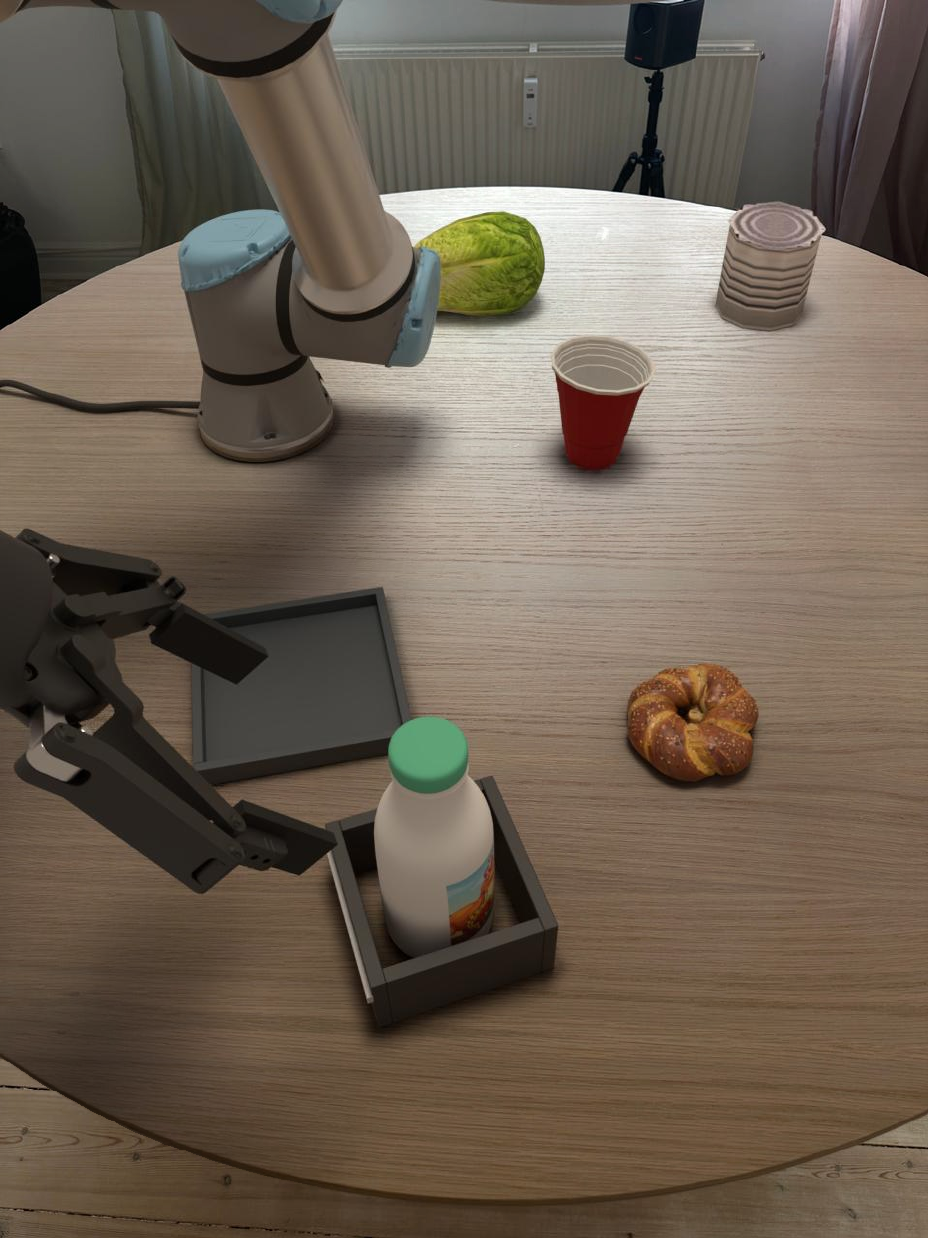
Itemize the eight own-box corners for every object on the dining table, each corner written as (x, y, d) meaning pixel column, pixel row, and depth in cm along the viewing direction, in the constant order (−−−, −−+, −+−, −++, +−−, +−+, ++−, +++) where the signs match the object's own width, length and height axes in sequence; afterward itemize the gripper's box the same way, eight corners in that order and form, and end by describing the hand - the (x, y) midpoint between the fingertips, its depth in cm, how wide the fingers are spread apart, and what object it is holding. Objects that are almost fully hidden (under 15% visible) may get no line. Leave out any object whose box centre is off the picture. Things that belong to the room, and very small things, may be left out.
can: (813, 302, 132) (836, 213, 123) (784, 339, 125) (806, 248, 117) (733, 282, 136) (749, 194, 128) (701, 317, 130) (716, 227, 121)
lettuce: (373, 239, 134) (364, 222, 121) (532, 212, 134) (540, 192, 120) (390, 336, 137) (382, 330, 124) (546, 310, 137) (555, 301, 123)
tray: (195, 631, 90) (190, 615, 89) (384, 602, 93) (382, 586, 91) (198, 787, 78) (192, 771, 77) (416, 749, 81) (414, 733, 79)
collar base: (329, 869, 73) (319, 824, 69) (491, 820, 76) (492, 774, 71) (373, 1030, 64) (365, 991, 60) (554, 968, 67) (559, 926, 63)
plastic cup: (639, 491, 104) (653, 392, 95) (538, 479, 106) (542, 381, 97) (646, 432, 111) (660, 336, 103) (552, 422, 113) (557, 327, 104)
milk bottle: (414, 987, 66) (394, 823, 52) (368, 895, 71) (339, 723, 57) (513, 937, 69) (520, 767, 55) (462, 851, 74) (457, 675, 59)
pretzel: (657, 658, 87) (662, 629, 84) (777, 705, 83) (786, 676, 80) (600, 753, 80) (604, 725, 77) (728, 810, 76) (737, 782, 73)
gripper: (-3, 783, 30) (410, 908, 45) (-46, 365, 45) (271, 565, 61) (-156, 923, 31) (294, 997, 47) (-145, 472, 47) (188, 640, 63)
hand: (281, 753), depth 54 cm, fingers open, 13 cm apart
